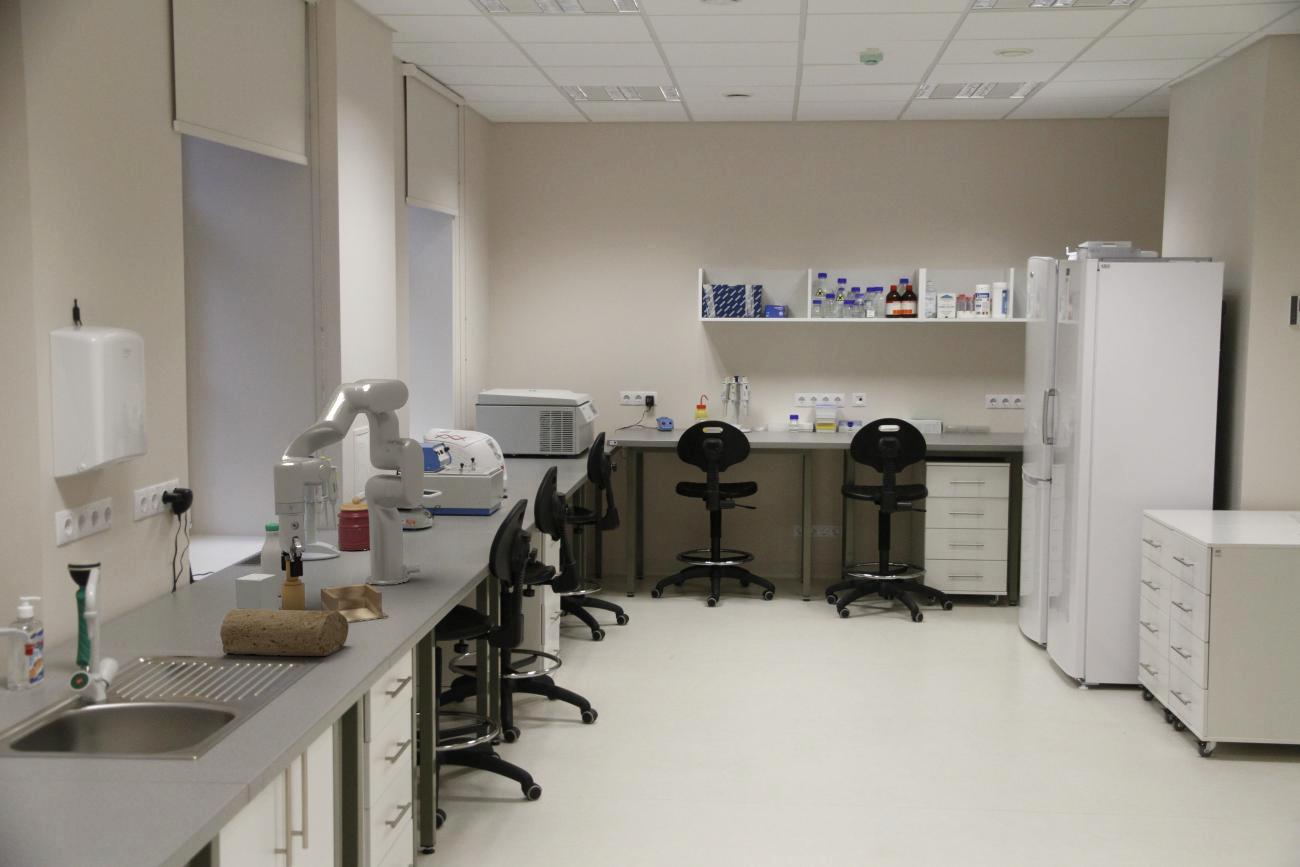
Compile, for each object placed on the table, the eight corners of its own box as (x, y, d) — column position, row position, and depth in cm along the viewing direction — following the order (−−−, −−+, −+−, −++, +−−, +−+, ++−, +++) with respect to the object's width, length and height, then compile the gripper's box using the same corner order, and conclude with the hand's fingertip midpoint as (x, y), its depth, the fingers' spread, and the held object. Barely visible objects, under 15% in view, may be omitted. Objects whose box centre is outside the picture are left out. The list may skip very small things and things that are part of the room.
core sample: (243, 643, 281) (241, 601, 280) (350, 645, 278) (348, 603, 277) (214, 659, 267) (212, 615, 266) (326, 662, 264) (324, 618, 263)
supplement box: (280, 623, 299) (278, 574, 298) (261, 630, 292) (259, 580, 291) (255, 621, 301) (253, 572, 300) (236, 628, 294) (234, 578, 293)
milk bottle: (282, 597, 328) (279, 526, 326) (256, 596, 330) (253, 525, 328) (295, 591, 336) (293, 522, 334) (270, 590, 337) (268, 521, 336)
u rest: (372, 607, 316) (371, 582, 315) (388, 617, 304) (387, 592, 303) (315, 614, 308) (315, 589, 308) (330, 625, 296) (329, 599, 296)
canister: (372, 551, 397) (370, 499, 395) (333, 552, 397) (331, 499, 396) (381, 544, 410) (379, 494, 408) (344, 545, 410) (342, 494, 409)
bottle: (302, 608, 315) (300, 553, 313) (308, 613, 309) (306, 556, 308) (279, 611, 312) (277, 555, 310) (284, 616, 307) (282, 559, 305)
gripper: (312, 511, 303) (314, 577, 304) (296, 503, 318) (298, 566, 319) (282, 513, 299) (285, 580, 300) (267, 505, 314) (270, 569, 315)
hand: (292, 573), depth 310 cm, fingers open, 9 cm apart
